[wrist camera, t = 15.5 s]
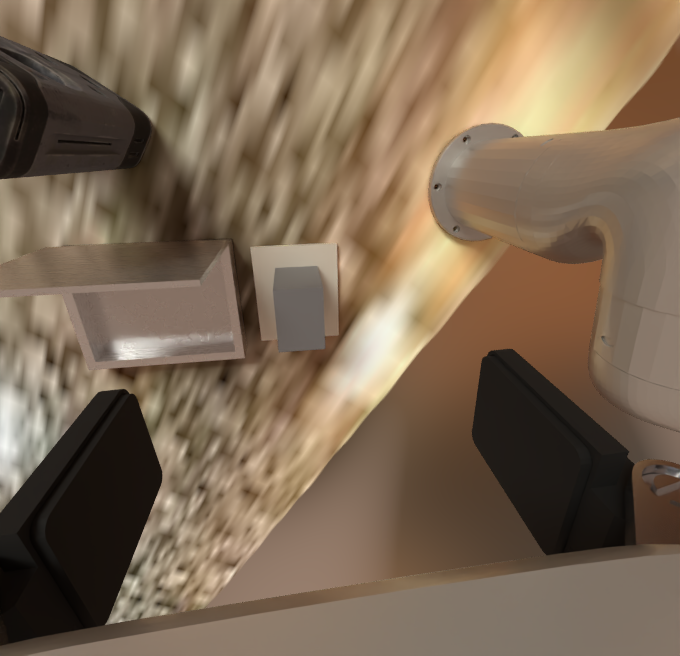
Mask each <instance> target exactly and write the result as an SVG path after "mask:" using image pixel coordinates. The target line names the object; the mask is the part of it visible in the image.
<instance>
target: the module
mask: <svg viewBox="0 0 680 656" xmlns="http://www.w3.org/2000/svg"><path fill="white" fill-rule="evenodd" d="M273 298H274V308H275V319H276V329H277V339H278V350H279V352H290V351H303V350H317V349H325V325H324V296H323V285H322V281H321V278H320V274H319V270H318V266H304V267H284V268H275V274H274V283H273Z"/></svg>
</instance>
